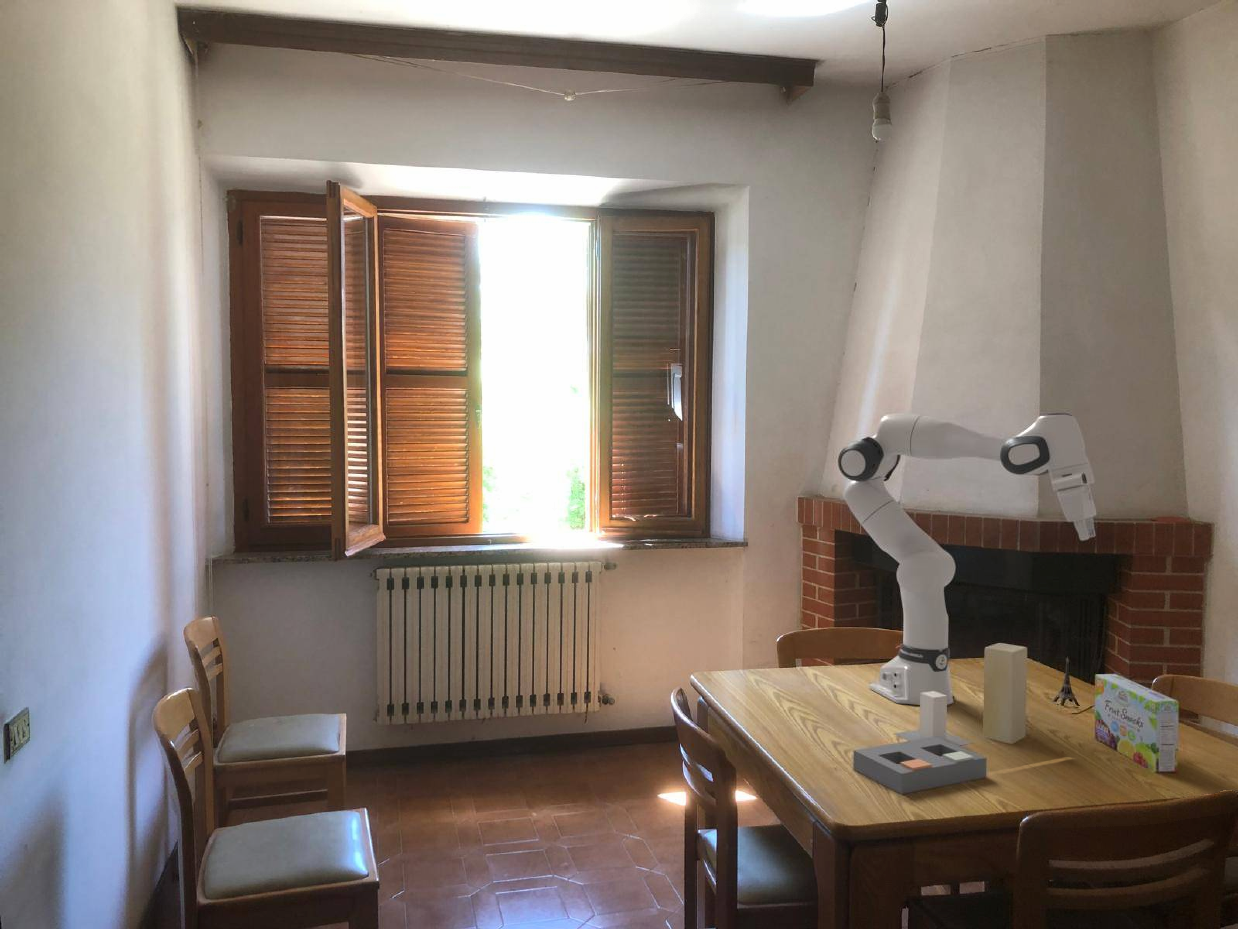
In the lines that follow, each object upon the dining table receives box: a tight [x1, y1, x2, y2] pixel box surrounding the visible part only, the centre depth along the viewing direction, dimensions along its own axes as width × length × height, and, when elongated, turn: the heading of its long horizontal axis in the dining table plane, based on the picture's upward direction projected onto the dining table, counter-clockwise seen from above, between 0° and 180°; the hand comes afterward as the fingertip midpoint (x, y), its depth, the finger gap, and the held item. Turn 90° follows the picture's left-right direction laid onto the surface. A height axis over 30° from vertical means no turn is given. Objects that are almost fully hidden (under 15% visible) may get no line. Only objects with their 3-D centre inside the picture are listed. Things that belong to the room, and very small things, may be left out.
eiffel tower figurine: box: [1051, 657, 1080, 706], centre depth 234 cm, size 15×10×13 cm
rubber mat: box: [894, 728, 974, 747], centre depth 205 cm, size 12×12×1 cm
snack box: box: [1094, 673, 1180, 774], centre depth 197 cm, size 21×6×15 cm, turn 5°
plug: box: [919, 691, 948, 740], centre depth 205 cm, size 4×4×10 cm
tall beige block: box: [982, 642, 1028, 745], centre depth 207 cm, size 8×7×21 cm
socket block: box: [852, 736, 988, 795], centre depth 185 cm, size 14×22×4 cm, turn 115°
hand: (1088, 538), depth 209 cm, fingers open, 8 cm apart
